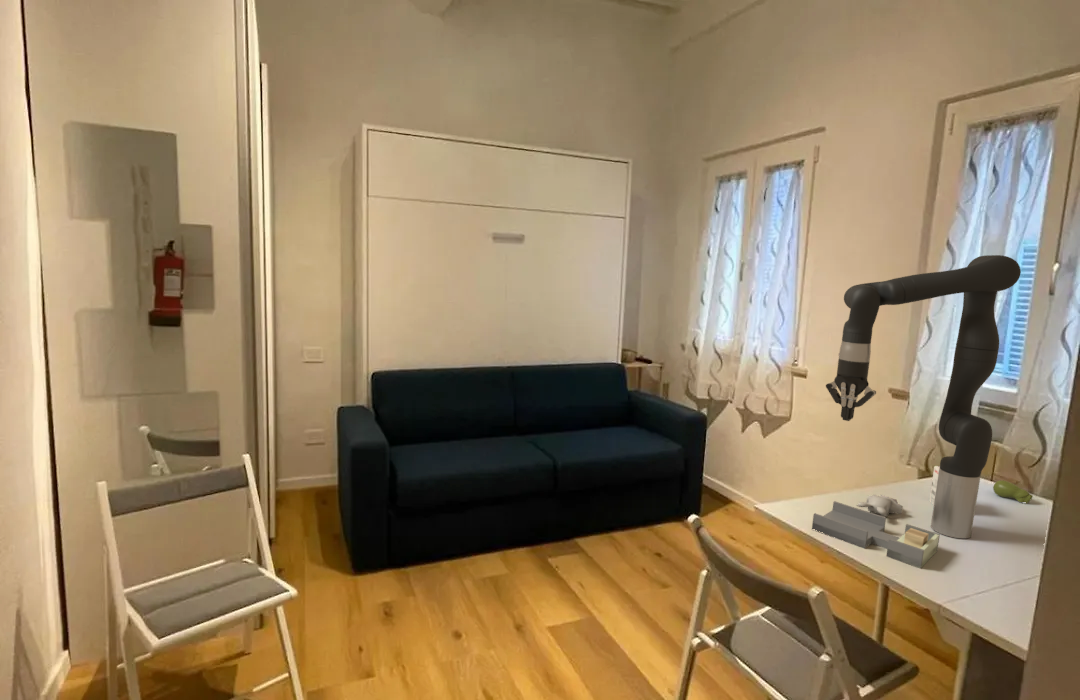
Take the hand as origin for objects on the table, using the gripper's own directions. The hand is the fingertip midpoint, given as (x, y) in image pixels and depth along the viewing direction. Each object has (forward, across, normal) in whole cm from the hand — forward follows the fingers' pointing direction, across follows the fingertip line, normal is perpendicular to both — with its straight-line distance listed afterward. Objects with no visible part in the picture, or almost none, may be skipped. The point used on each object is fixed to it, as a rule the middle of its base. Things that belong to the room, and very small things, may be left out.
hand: (846, 419), depth 165 cm
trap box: (+29, -12, +6) cm, 32 cm away
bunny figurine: (+29, -7, -15) cm, 34 cm away
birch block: (+27, -22, +6) cm, 35 cm away
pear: (+29, -30, -63) cm, 76 cm away
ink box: (+29, -18, -36) cm, 50 cm away
